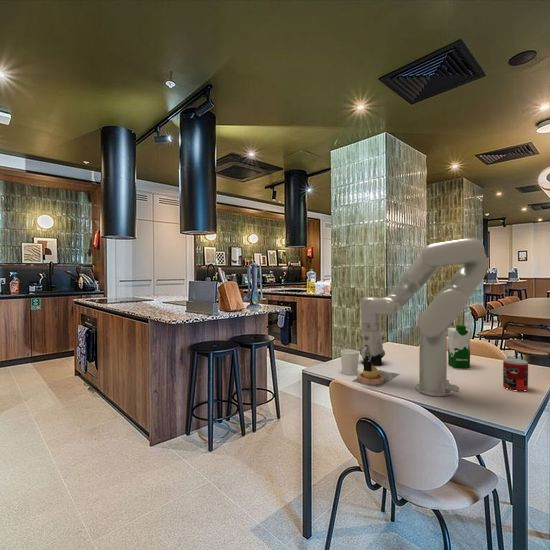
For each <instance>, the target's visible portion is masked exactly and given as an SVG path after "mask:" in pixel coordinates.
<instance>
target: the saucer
mask: <svg viewBox="0 0 550 550" xmlns="http://www.w3.org/2000/svg"><path fill="white" fill-rule="evenodd" d="M356 379H358V381H359V382H360V383H359V384H362V383H363V384H362V385H366V384H367V386H370V385H380V384H382V383H383V381H384V376H382V375H381V374H378V375H377V377H376V378H375V379H367V378H365V377H364V375H363V371H362V372H360V373H357V374H356Z"/></svg>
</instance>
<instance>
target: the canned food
mask: <svg viewBox="0 0 550 550" xmlns="http://www.w3.org/2000/svg"><path fill="white" fill-rule="evenodd" d="M528 362H529V361H527V360H524V359H520V358H514V357H513V358H511V357H509V358H508V357H507V358H503V363H502V368H503V369H502V372H503V373H502V381H503V382H502V386H503V388H504V387H505V389H506V388H508V389H511V390H517V391H524V390H527V391H528V389H529V363H528ZM508 389H507V390H508ZM511 390H510V391H511Z"/></svg>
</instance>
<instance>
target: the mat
mask: <svg viewBox="0 0 550 550" xmlns="http://www.w3.org/2000/svg"><path fill="white" fill-rule="evenodd" d="M379 370H380V371H382V370H381V369H379ZM384 371H385V372H388V371H386V370H384ZM389 372H390V371H389ZM390 373H391V380H386V379H384V381H383V383H382V384H380V385H369V386H371V387H375V388H381V387H383V386H384V385H385V384H387V383H389V382H390V381H392V380H393V379H395V378H396V377H398V376H399V375H400V373H396V372H390ZM352 382H353V383H359V384H362V385H364V384H363V383H360V382H359V381H358V379H357V378H355V379H353V380H352ZM365 385H367V384H365ZM367 386H368V385H367Z"/></svg>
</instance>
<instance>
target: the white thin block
mask: <svg viewBox="0 0 550 550" xmlns="http://www.w3.org/2000/svg"><path fill="white" fill-rule="evenodd" d="M377 370H378V374H381V375H382V376H384V379H386V380H390V381H392V380H391V373H390V371H387V372H385V371H386V370H381V369H377ZM380 370H381V371H380Z"/></svg>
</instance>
